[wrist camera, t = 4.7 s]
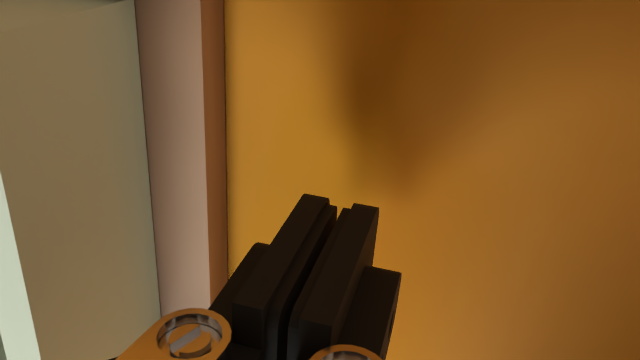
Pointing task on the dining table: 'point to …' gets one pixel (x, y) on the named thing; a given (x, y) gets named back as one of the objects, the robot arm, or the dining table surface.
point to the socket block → (73, 182)
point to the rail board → (185, 146)
